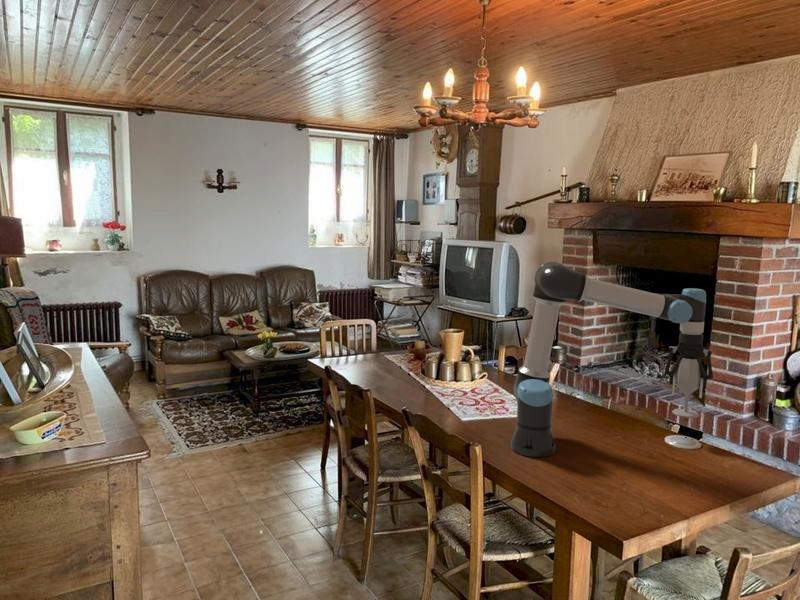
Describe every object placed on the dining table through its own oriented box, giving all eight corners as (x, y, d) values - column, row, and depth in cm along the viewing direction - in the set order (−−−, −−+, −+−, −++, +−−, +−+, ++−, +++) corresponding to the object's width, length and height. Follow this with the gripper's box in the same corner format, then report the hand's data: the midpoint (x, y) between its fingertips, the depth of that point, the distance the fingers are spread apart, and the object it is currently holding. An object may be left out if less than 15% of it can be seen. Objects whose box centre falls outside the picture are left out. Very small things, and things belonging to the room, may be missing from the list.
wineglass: (698, 412, 216) (702, 356, 213) (699, 420, 208) (703, 361, 205) (672, 409, 220) (676, 353, 217) (671, 416, 212) (675, 358, 209)
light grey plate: (682, 451, 208) (682, 449, 208) (657, 438, 219) (657, 437, 219) (709, 447, 212) (709, 445, 212) (683, 435, 223) (683, 433, 223)
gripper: (724, 333, 209) (719, 396, 212) (659, 328, 218) (655, 388, 221) (725, 337, 202) (720, 402, 205) (658, 331, 211) (654, 394, 214)
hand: (686, 395), depth 213 cm, fingers closed on wineglass, 8 cm apart
